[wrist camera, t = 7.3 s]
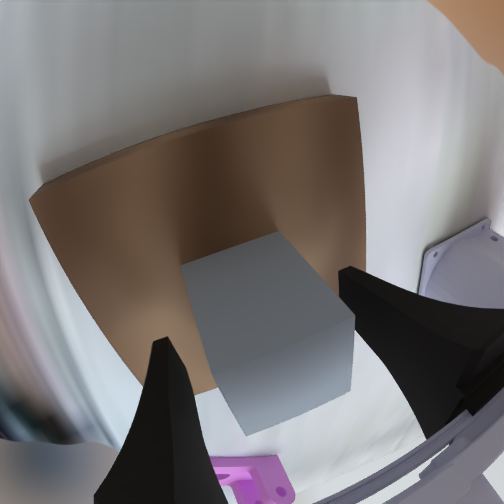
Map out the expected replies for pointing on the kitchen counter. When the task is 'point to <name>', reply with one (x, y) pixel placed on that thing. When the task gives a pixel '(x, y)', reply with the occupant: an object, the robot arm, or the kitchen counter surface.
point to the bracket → (255, 479)
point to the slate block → (270, 331)
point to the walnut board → (205, 216)
